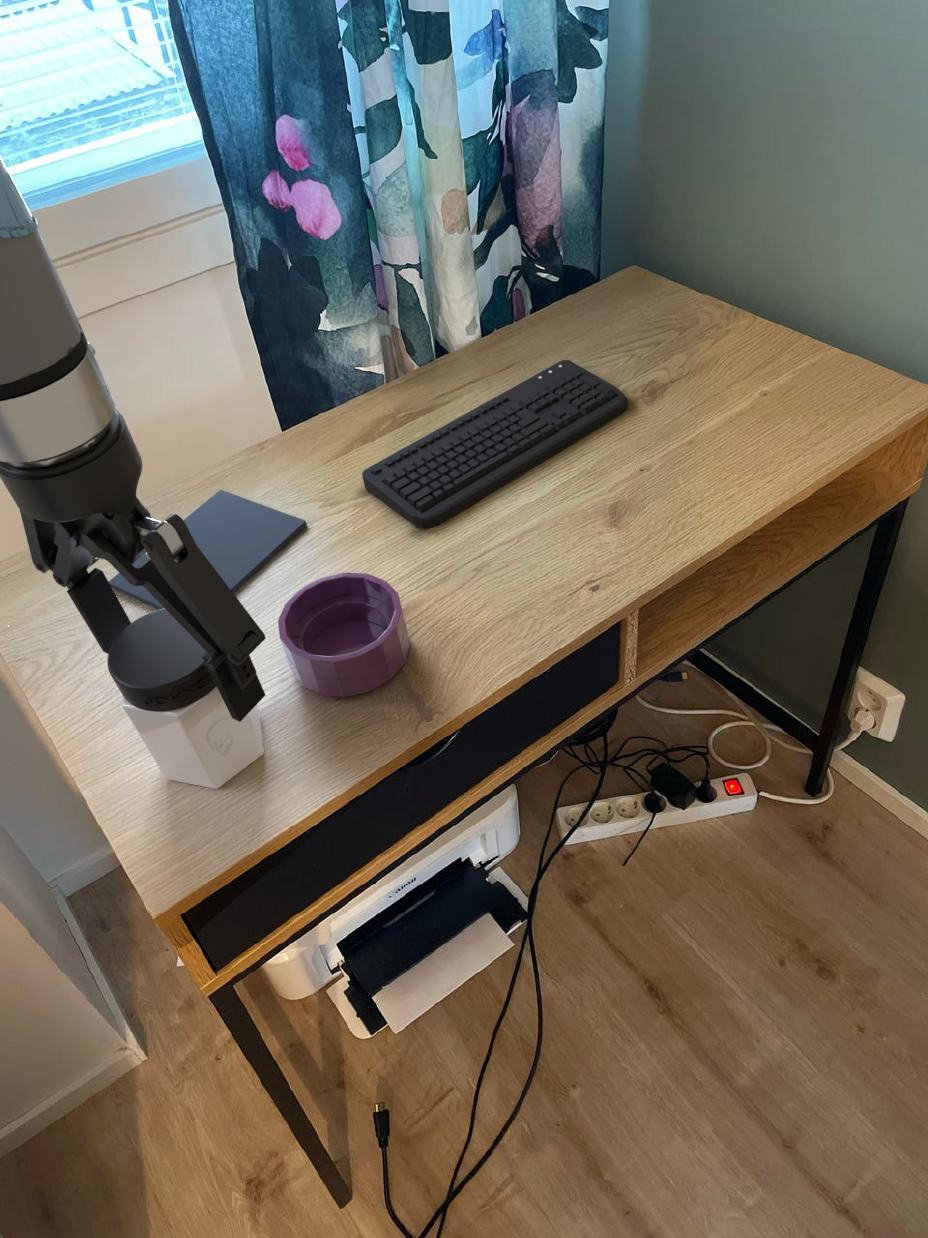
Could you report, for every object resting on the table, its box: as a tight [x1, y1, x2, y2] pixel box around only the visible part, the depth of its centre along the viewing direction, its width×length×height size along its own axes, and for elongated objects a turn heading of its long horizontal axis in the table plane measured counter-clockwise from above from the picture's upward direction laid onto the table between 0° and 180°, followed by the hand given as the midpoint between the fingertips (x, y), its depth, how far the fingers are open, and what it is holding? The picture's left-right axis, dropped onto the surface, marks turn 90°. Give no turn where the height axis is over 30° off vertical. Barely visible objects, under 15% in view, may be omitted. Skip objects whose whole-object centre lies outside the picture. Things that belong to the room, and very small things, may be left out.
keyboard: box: [361, 359, 629, 530], centre depth 96 cm, size 30×11×2 cm, turn 130°
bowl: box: [277, 571, 411, 698], centre depth 76 cm, size 10×10×5 cm
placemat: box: [108, 489, 308, 610], centre depth 89 cm, size 16×12×1 cm
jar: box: [106, 608, 265, 790], centre depth 68 cm, size 9×8×12 cm
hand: (181, 673), depth 66 cm, fingers open, 13 cm apart
